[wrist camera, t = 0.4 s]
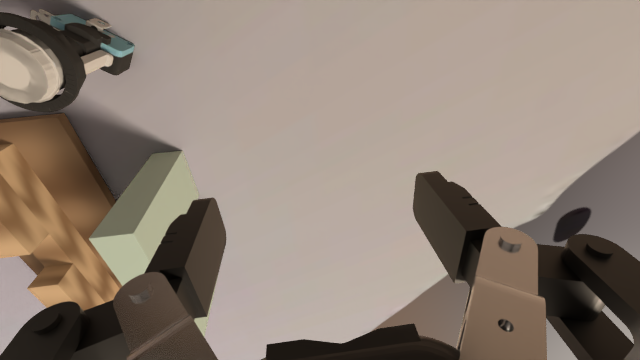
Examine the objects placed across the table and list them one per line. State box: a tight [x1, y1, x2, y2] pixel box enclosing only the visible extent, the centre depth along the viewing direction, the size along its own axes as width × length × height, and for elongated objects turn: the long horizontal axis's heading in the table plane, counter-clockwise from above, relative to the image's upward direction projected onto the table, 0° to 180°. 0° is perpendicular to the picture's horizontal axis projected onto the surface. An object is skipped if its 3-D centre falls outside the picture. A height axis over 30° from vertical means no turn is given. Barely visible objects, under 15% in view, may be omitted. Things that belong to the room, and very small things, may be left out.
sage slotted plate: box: [89, 151, 218, 336], centre depth 30 cm, size 16×3×12 cm, turn 4°
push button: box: [0, 9, 135, 112], centre depth 20 cm, size 7×5×10 cm
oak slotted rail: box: [0, 113, 122, 311], centre depth 31 cm, size 26×13×6 cm, turn 4°
